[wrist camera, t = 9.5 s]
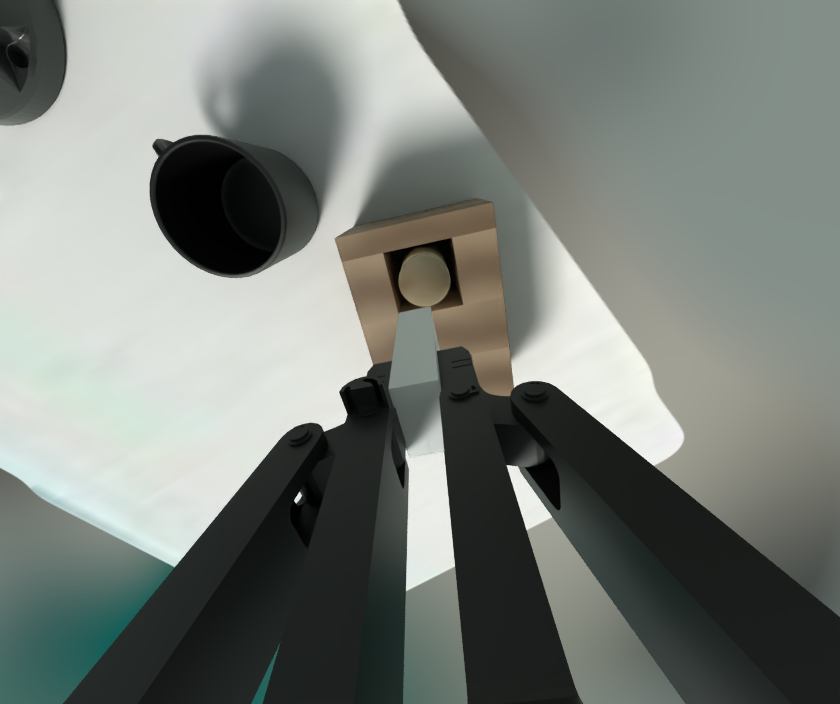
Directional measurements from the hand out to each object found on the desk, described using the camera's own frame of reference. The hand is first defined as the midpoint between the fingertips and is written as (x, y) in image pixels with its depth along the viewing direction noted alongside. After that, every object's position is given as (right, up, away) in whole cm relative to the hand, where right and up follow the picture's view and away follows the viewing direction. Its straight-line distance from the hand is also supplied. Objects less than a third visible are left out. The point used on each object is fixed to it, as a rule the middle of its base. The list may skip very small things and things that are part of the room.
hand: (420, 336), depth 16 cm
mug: (-15, +14, +16) cm, 26 cm away
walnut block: (+1, +4, +20) cm, 21 cm away
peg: (0, +8, +18) cm, 20 cm away
